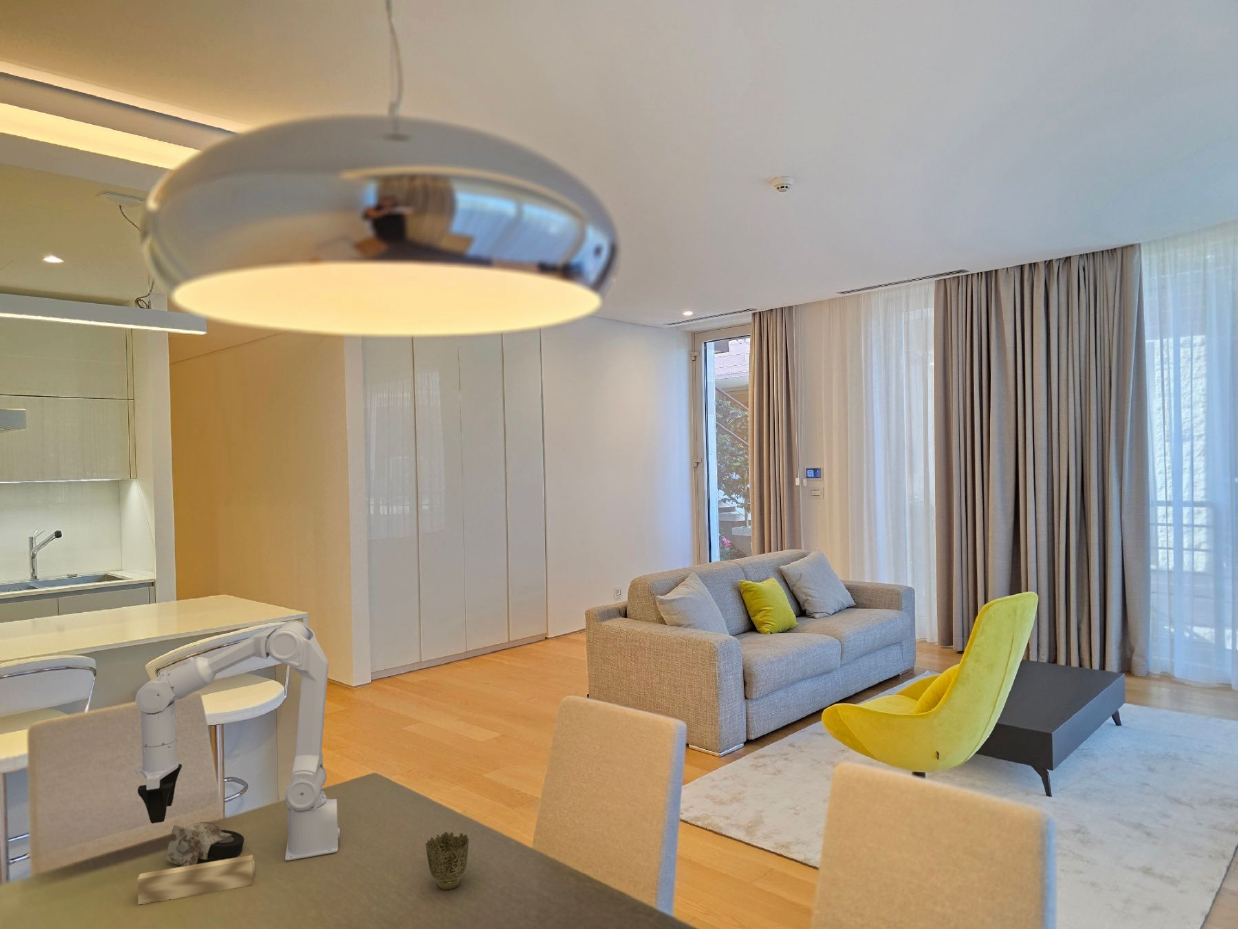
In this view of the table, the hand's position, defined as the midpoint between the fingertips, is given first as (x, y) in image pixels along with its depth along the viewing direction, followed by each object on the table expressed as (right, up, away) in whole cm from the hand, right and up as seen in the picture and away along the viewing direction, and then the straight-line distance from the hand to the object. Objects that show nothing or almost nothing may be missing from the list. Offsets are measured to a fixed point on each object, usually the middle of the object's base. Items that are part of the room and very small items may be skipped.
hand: (161, 814), depth 155 cm
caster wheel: (+8, -10, +3) cm, 13 cm away
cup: (+57, -8, -11) cm, 58 cm away
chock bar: (+12, -10, -9) cm, 18 cm away
